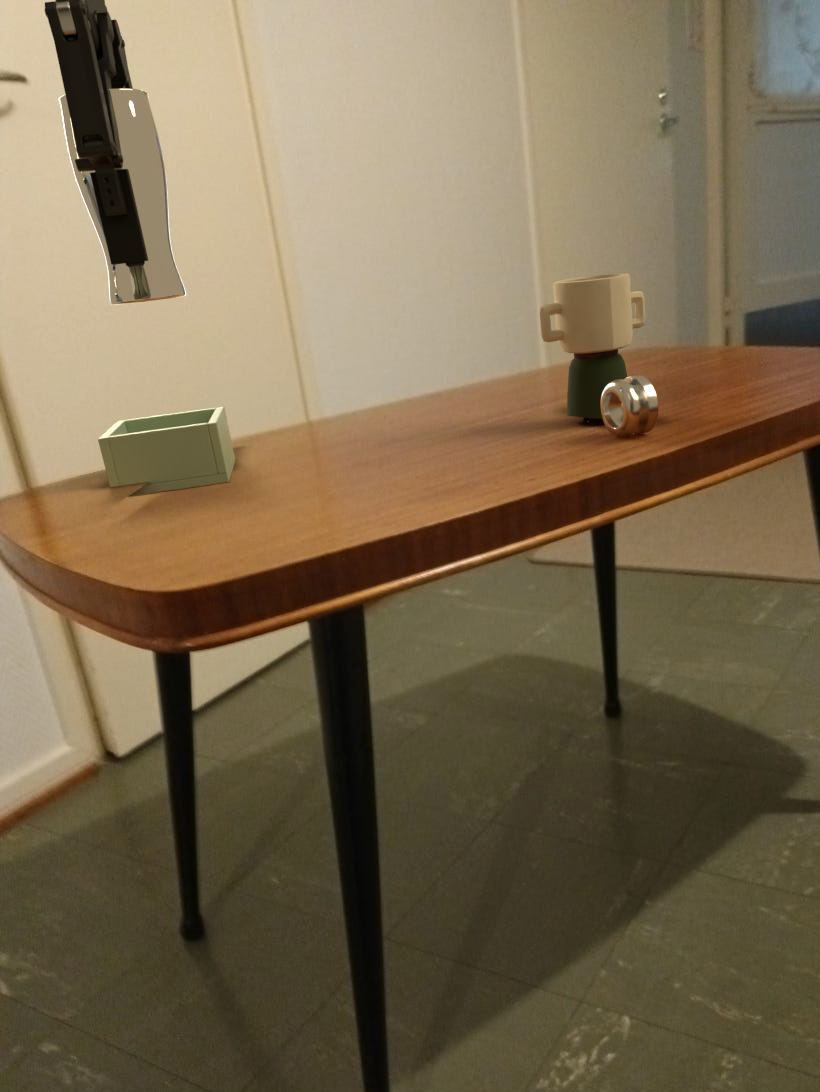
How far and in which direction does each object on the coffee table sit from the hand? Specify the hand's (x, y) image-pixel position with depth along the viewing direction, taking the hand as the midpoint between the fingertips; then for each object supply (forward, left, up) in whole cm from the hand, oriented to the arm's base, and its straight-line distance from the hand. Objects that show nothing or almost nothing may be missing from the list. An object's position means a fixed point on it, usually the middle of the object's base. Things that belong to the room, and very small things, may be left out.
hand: (140, 261), depth 80 cm
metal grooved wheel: (+39, +3, -19) cm, 43 cm away
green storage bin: (-3, +4, -19) cm, 20 cm away
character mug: (+37, +12, -19) cm, 43 cm away
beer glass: (0, 0, -3) cm, 3 cm away
